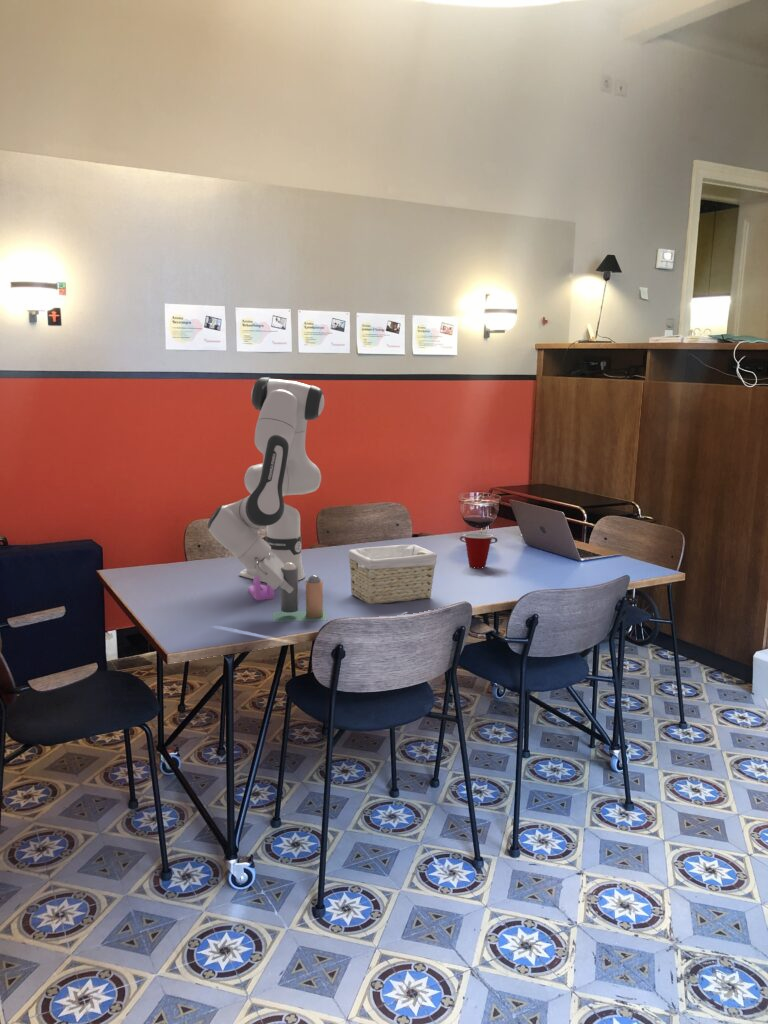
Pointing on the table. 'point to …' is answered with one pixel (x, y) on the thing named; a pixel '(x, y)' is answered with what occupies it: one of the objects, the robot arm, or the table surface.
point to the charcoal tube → (291, 577)
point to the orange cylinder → (314, 597)
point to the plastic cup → (477, 548)
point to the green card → (296, 616)
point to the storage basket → (391, 573)
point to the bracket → (261, 590)
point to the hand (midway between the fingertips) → (291, 587)
